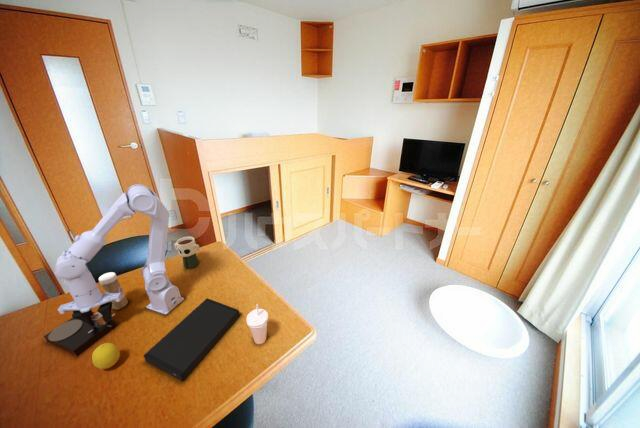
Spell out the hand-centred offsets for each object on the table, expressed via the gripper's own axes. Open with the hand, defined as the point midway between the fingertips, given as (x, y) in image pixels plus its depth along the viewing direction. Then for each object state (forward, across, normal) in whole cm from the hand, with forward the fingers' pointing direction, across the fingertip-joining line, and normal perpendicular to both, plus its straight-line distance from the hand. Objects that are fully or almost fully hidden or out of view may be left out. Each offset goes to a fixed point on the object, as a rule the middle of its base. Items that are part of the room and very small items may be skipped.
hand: (101, 322), depth 76 cm
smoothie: (+3, +47, -21) cm, 51 cm away
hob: (+3, -5, 0) cm, 5 cm away
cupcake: (0, 0, 0) cm, 0 cm away
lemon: (+3, +6, -15) cm, 17 cm away
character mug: (+3, +23, +27) cm, 36 cm away
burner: (+1, -9, +1) cm, 9 cm away
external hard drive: (+3, +28, -14) cm, 32 cm away
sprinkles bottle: (+3, +1, +10) cm, 11 cm away
